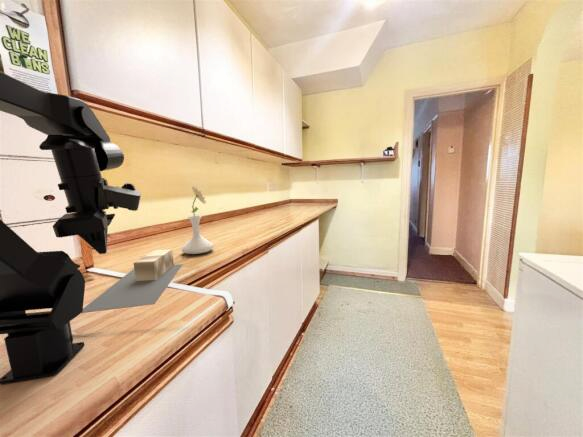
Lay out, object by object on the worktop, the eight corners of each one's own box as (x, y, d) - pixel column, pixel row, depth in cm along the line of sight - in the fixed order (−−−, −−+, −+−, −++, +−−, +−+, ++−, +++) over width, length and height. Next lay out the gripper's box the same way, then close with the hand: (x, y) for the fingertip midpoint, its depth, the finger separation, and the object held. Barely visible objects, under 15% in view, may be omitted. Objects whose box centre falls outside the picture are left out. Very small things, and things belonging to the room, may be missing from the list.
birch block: (153, 261, 62) (172, 249, 74) (133, 262, 62) (155, 250, 74) (155, 279, 63) (173, 264, 75) (135, 281, 63) (157, 265, 74)
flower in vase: (212, 255, 86) (206, 185, 83) (178, 258, 84) (171, 186, 80) (215, 246, 99) (210, 185, 95) (185, 248, 96) (179, 186, 93)
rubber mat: (154, 306, 50) (154, 303, 50) (77, 315, 47) (77, 313, 47) (183, 265, 75) (183, 264, 75) (134, 270, 72) (133, 268, 72)
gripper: (128, 178, 39) (147, 263, 44) (136, 167, 55) (150, 231, 60) (36, 184, 34) (69, 279, 39) (74, 171, 50) (94, 240, 55)
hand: (103, 253), depth 48 cm, fingers closed
